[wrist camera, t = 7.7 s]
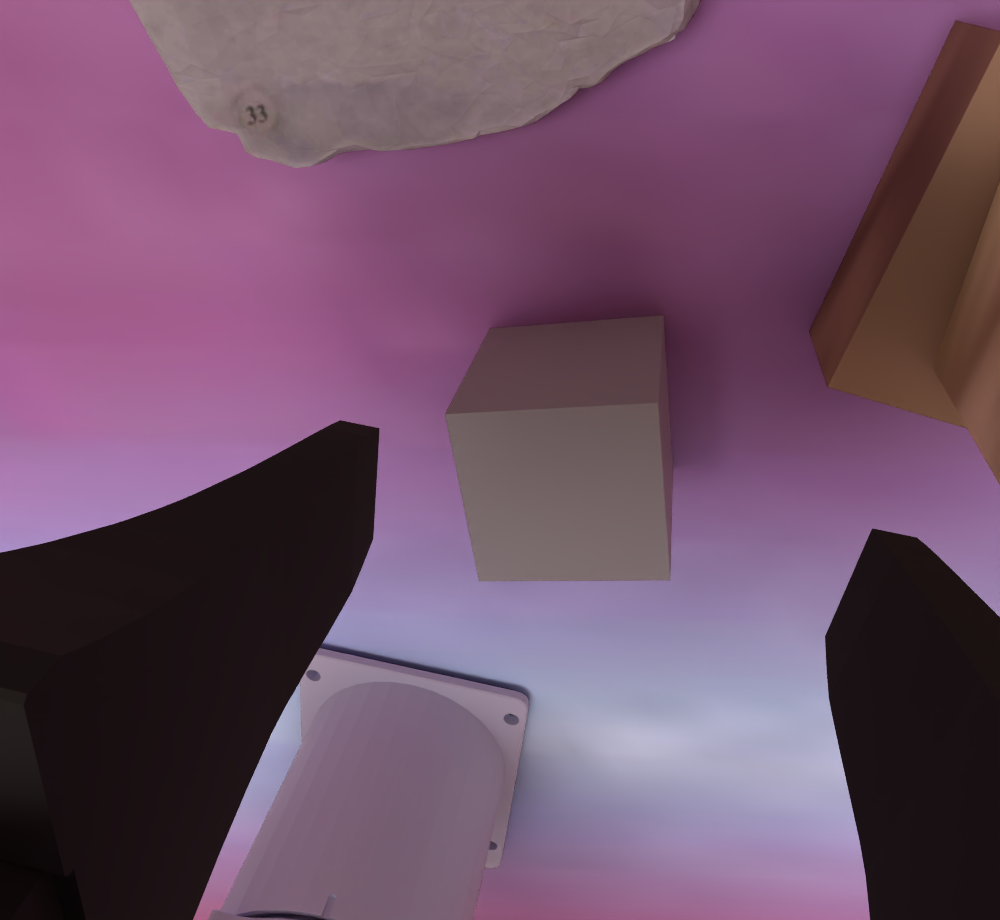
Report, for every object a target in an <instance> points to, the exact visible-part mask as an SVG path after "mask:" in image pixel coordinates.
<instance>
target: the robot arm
mask: <svg viewBox="0 0 1000 920" xmlns="http://www.w3.org/2000/svg"><path fill="white" fill-rule="evenodd" d="M378 444H379V428H375V427H370V426H365V425H360V424H355V423H351V422H346V421H341V420H340V421H338V422H336V423H334V424H331V425H330V426H328V427H326V428H324V429H322V430H320V431H318V432H316V433H314V434H313V435H311V436H309V437H307V438H305V439H303V440H302V441H300V442H298V443H296V444H294V445H292V446H291V447H289V448H287V449H285V450H283V451H281V452H279V453H278V454H276V455H274V456H272V457H270V458H268V459H266V460H264V461H262V462H261V463H259V464H257V465H255V466H253V467H251V468H249V469H247V470H245V471H243V472H241V473H239V474H237V475H235V476H232V477H230V478H228V479H226V480H224V481H222V482H220V483H217V484H215V485H213V486H211V487H209V488H207V489H205V490H202V491H200V492H198V493H196V494H194V495H192V496H189V497H187V498H184V499H182V500H180V501H177V502H175V503H172V504H169V505H167V506H164V507H162V508H159V509H156V510H154V511H151V512H148V513H145V514H142V515H139V516H137V517H134V518H131V519H128V520H125V521H122V522H119V523H116V524H113V525H109V526H105V527H102V528H98V529H95V530H91V531H87V532H84V533H80V534H77V535H73V536H69V537H66V538H62V539H59V540H55V541H51V542H47V543H43V544H39V545H34V546H30V547H25V548H21V549H16V550H11V551H7V552H2V553H0V920H193V918H194V916H195V913H196V911H197V908H198V906H199V903H200V901H201V898H202V896H203V893H204V891H205V888H206V886H207V883H208V881H209V878H210V876H211V873H212V871H213V868H214V866H215V863H216V861H217V858H218V856H219V853H220V851H221V848H222V846H223V844H224V841H225V839H226V837H227V834H228V832H229V830H230V827H231V825H232V822H233V820H234V818H235V815H236V813H237V811H238V808H239V806H240V804H241V801H242V799H243V796H244V794H245V792H246V789H247V787H248V785H249V783H250V780H251V778H252V776H253V774H254V771H255V769H256V767H257V765H258V762H259V760H260V758H261V756H262V753H263V751H264V749H265V747H266V744H267V742H268V740H269V738H270V735H271V733H272V731H273V729H274V727H275V725H276V723H277V722H278V720H279V718H280V716H281V714H282V712H283V710H284V708H285V706H286V704H287V703H288V701H289V699H290V698H291V696H292V694H293V692H294V691H295V689H296V687H297V686H298V684H299V682H300V686H301V728H302V744H301V746H300V748H299V750H298V752H297V754H296V756H295V759H294V761H293V763H292V765H291V767H290V769H289V771H288V773H287V775H286V777H285V779H284V781H283V783H282V785H281V787H280V789H279V791H278V793H277V796H276V798H275V800H274V802H273V804H272V806H271V808H270V810H269V812H268V814H267V816H266V818H265V820H264V822H263V824H262V826H261V828H260V830H259V832H258V835H257V837H256V839H255V841H254V843H253V845H252V847H251V849H250V851H249V853H248V855H247V857H246V859H245V861H244V863H243V865H242V867H241V869H240V872H239V874H238V876H237V878H236V880H235V882H234V884H233V886H232V888H231V890H230V892H229V894H228V896H227V898H226V900H225V902H224V904H223V906H222V909H221V910H218V909H215V910H213V911H212V913H211V915H210V917H209V919H208V920H473V918H474V913H475V909H476V904H477V900H478V895H479V891H480V886H481V882H482V877H483V872H484V868H490V869H492V868H496V867H498V866H499V865H500V864H501V860H502V855H503V849H504V843H505V838H506V832H507V826H508V821H509V815H510V810H511V804H512V798H513V793H514V787H515V782H516V776H517V770H518V765H519V759H520V754H521V748H522V742H523V737H524V731H525V725H526V720H527V714H528V709H529V700H528V699H527V697H526V696H525V695H524V694H522V693H520V692H517V691H514V690H509V689H504V688H500V687H495V686H491V685H486V684H482V683H477V682H472V681H468V680H463V679H459V678H454V677H450V676H445V675H440V674H436V673H431V672H427V671H422V670H418V669H413V668H408V667H404V666H399V665H395V664H390V663H386V662H381V661H376V660H372V659H367V658H363V657H358V656H354V655H349V654H344V653H340V652H335V651H331V650H326V649H322V648H320V646H321V645H322V643H323V641H324V639H325V638H326V636H327V634H328V633H329V631H330V629H331V627H332V626H333V624H334V622H335V620H336V619H337V617H338V615H339V613H340V612H341V610H342V608H343V606H344V605H345V603H346V601H347V599H348V597H349V596H350V594H351V592H352V590H353V587H354V585H355V583H356V580H357V578H358V575H359V573H360V571H361V568H362V566H363V563H364V561H365V558H366V556H367V553H368V550H369V548H370V545H371V543H372V540H373V532H374V514H375V497H376V479H377V462H378ZM825 643H826V664H827V679H828V691H829V701H830V706H831V711H832V716H833V721H834V725H835V730H836V735H837V740H838V744H839V749H840V754H841V758H842V763H843V767H844V772H845V776H846V781H847V785H848V790H849V794H850V799H851V803H852V808H853V813H854V817H855V822H856V826H857V831H858V835H859V840H860V845H861V851H862V857H863V862H864V868H865V874H866V883H867V892H868V902H869V912H870V920H1000V617H999V616H998V615H997V614H996V613H995V612H994V611H993V610H992V609H991V608H990V607H989V606H988V605H987V604H986V603H985V602H984V601H983V600H982V599H981V598H980V597H979V596H978V595H977V594H976V593H975V592H974V591H973V590H972V589H971V588H970V587H969V586H968V585H967V584H966V583H965V582H964V581H963V580H962V579H961V578H960V577H959V576H958V575H957V574H956V573H955V572H954V571H953V570H952V569H951V568H950V567H949V566H947V565H946V564H945V563H944V562H943V561H942V560H941V559H940V558H939V557H938V556H937V555H936V554H935V553H934V552H933V551H932V550H931V549H930V548H928V547H927V546H926V545H925V544H924V543H923V542H921V541H920V540H919V539H918V538H916V537H911V536H906V535H901V534H896V533H892V532H887V531H882V530H877V529H872V530H871V533H870V535H869V537H868V539H867V542H866V544H865V546H864V549H863V551H862V553H861V555H860V558H859V560H858V562H857V565H856V567H855V569H854V572H853V574H852V576H851V578H850V581H849V583H848V585H847V588H846V590H845V592H844V594H843V597H842V599H841V601H840V604H839V606H838V608H837V611H836V613H835V615H834V617H833V620H832V622H831V624H830V627H829V629H828V631H827V633H826V636H825ZM313 670H315V671H317V672H318V673H317V672H314V671H313ZM509 714H513V715H516V716H511V715H509Z"/></svg>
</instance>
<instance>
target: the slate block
mask: <svg viewBox="0 0 1000 920" xmlns="http://www.w3.org/2000/svg"><path fill="white" fill-rule="evenodd" d="M445 417H446V422H447V426H448V431H449V436H450V441H451V446H452V451H453V456H454V461H455V466H456V471H457V475H458V480H459V485H460V490H461V495H462V500H463V505H464V510H465V515H466V520H467V524H468V529H469V534H470V539H471V544H472V549H473V554H474V559H475V564H476V569H477V573H478V578H479V581H618V580H670V569H671V530H672V492H673V460H672V443H671V427H670V411H669V395H668V379H667V363H666V346H665V330H664V315H658V316H645V317H632V318H619V319H606V320H593V321H580V322H567V323H554V324H541V325H528V326H515V327H502V328H490V329H489V331H488V333H487V335H486V337H485V339H484V341H483V343H482V344H481V346H480V348H479V350H478V352H477V354H476V356H475V358H474V360H473V362H472V364H471V365H470V367H469V369H468V371H467V373H466V375H465V377H464V379H463V381H462V383H461V385H460V386H459V388H458V390H457V392H456V394H455V396H454V398H453V400H452V402H451V404H450V406H449V408H448V409H447V411H446V413H445Z"/></svg>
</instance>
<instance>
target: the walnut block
mask: <svg viewBox="0 0 1000 920" xmlns="http://www.w3.org/2000/svg"><path fill="white" fill-rule="evenodd" d="M999 182H1000V31H997V30H992V29H988V28H984V27H980V26H976V25H972V24H967V23H963V22H959V21H955V23H954V25H953V27H952V29H951V31H950V33H949V35H948V37H947V40H946V42H945V44H944V46H943V48H942V50H941V52H940V54H939V57H938V59H937V61H936V63H935V65H934V67H933V69H932V71H931V74H930V76H929V78H928V80H927V82H926V84H925V86H924V88H923V91H922V93H921V95H920V97H919V99H918V101H917V103H916V105H915V108H914V110H913V112H912V114H911V116H910V118H909V120H908V122H907V125H906V127H905V129H904V131H903V133H902V135H901V137H900V139H899V142H898V144H897V146H896V148H895V150H894V152H893V154H892V156H891V159H890V161H889V163H888V165H887V167H886V169H885V171H884V173H883V176H882V178H881V180H880V182H879V184H878V186H877V188H876V190H875V193H874V195H873V197H872V199H871V201H870V203H869V205H868V207H867V210H866V212H865V214H864V216H863V218H862V220H861V222H860V224H859V227H858V229H857V231H856V233H855V235H854V237H853V239H852V241H851V244H850V246H849V248H848V250H847V252H846V254H845V256H844V258H843V261H842V263H841V265H840V267H839V269H838V271H837V273H836V275H835V278H834V280H833V282H832V284H831V286H830V288H829V290H828V292H827V295H826V297H825V299H824V301H823V303H822V305H821V307H820V309H819V312H818V314H817V316H816V318H815V320H814V322H813V324H812V326H811V329H810V331H809V333H810V336H811V339H812V342H813V345H814V348H815V351H816V354H817V357H818V360H819V363H820V366H821V369H822V372H823V375H824V378H825V381H826V384H827V387H829V388H833V389H836V390H839V391H843V392H846V393H849V394H853V395H856V396H859V397H863V398H866V399H870V400H873V401H876V402H880V403H883V404H886V405H890V406H893V407H897V408H900V409H903V410H907V411H910V412H913V413H917V414H920V415H923V416H927V417H930V418H934V419H937V420H940V421H944V422H947V423H950V424H954V425H957V426H961V427H964V428H967V427H966V425H965V423H964V422H963V420H962V418H961V417H960V415H959V413H958V411H957V410H956V408H955V406H954V404H953V403H952V401H951V399H950V397H949V396H948V394H947V392H946V390H945V389H944V387H943V385H942V383H941V382H940V380H939V378H938V377H937V375H936V373H935V371H934V370H933V365H934V362H935V359H936V357H937V354H938V351H939V348H940V345H941V343H942V340H943V337H944V334H945V332H946V329H947V326H948V323H949V321H950V318H951V315H952V312H953V309H954V307H955V304H956V301H957V298H958V296H959V293H960V290H961V287H962V285H963V282H964V279H965V276H966V274H967V271H968V268H969V265H970V262H971V260H972V257H973V254H974V251H975V249H976V246H977V243H978V240H979V238H980V235H981V232H982V229H983V226H984V224H985V221H986V218H987V215H988V213H989V210H990V207H991V204H992V202H993V199H994V196H995V193H996V191H997V188H998V185H999Z"/></svg>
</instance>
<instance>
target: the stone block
mask: <svg viewBox="0 0 1000 920" xmlns="http://www.w3.org/2000/svg"><path fill="white" fill-rule="evenodd" d="M130 2H131V4H132V6H133V8H134V10H135V11H136V13H137V15H138V17H139V19H140V21H141V22H142V24H143V26H144V28H145V30H146V32H147V33H148V35H149V37H150V39H151V41H152V42H153V44H154V46H155V48H156V49H157V51H158V53H159V54H160V56H161V58H162V59H163V61H164V63H165V65H166V66H167V68H168V70H169V72H170V74H171V76H172V78H173V80H174V82H175V84H176V86H177V87H178V89H179V90H180V91H181V93H182V94H183V95H184V97H185V98H186V99H187V101H188V102H189V104H190V105H191V106H192V108H193V109H194V111H195V112H196V114H197V115H198V116H199V117H200V118H201V119H202V120H203V121H204V123H205V124H206V125H207V126H208V127H209V128H214V129H219V130H224V131H229V132H231V133H234V134H236V135H238V136H239V138H240V140H241V142H242V144H243V146H244V148H245V150H246V152H247V153H249V154H250V155H252V156H254V157H256V158H261V159H267V160H271V161H275V162H278V163H281V164H284V165H287V166H290V167H293V168H299V167H308V166H314V165H317V164H320V163H323V162H326V161H328V160H330V159H331V158H333V157H334V156H336V155H338V154H340V153H345V152H350V151H359V150H369V149H372V150H377V151H389V150H400V149H401V150H412V149H416V148H422V147H432V146H439V145H447V144H452V143H456V142H460V141H464V140H469V139H474V138H476V137H477V136H479V135H485V134H492V133H498V132H502V131H506V130H510V129H514V128H518V127H522V126H525V125H528V124H531V123H534V122H536V121H537V120H539V119H540V118H542V117H543V116H545V115H546V114H548V113H549V112H550V111H552V110H553V109H555V108H556V107H557V106H559V105H560V104H562V103H563V102H565V101H567V100H568V99H570V98H571V97H572V96H573V95H574V94H575V93H576V92H577V91H578V90H579V89H580V88H590V87H592V86H594V85H596V84H599V83H601V82H602V81H603V80H604V79H605V78H606V77H607V76H608V75H609V74H610V73H611V72H612V71H613V70H614V69H615V68H617V67H618V66H620V65H621V64H623V63H624V62H626V61H627V60H630V59H632V58H634V57H637V56H639V55H641V54H643V53H645V52H647V51H648V50H650V49H651V48H653V47H656V46H659V45H662V44H665V43H668V42H669V41H671V40H673V39H675V35H676V33H680V32H681V31H682V30H684V29H685V27H686V26H687V24H688V22H689V21H690V19H691V18H692V17H693V16H694V12H695V11H696V9H697V7H698V6H699V3H700V0H130Z"/></svg>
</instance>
